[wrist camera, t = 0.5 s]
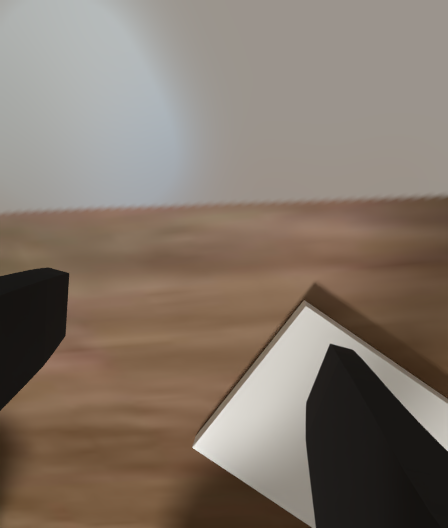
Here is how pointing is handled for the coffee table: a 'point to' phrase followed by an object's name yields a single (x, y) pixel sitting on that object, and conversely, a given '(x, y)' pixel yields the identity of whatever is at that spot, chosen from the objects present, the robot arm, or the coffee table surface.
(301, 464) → the base plate
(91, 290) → the coffee table surface
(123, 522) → the coffee table surface
